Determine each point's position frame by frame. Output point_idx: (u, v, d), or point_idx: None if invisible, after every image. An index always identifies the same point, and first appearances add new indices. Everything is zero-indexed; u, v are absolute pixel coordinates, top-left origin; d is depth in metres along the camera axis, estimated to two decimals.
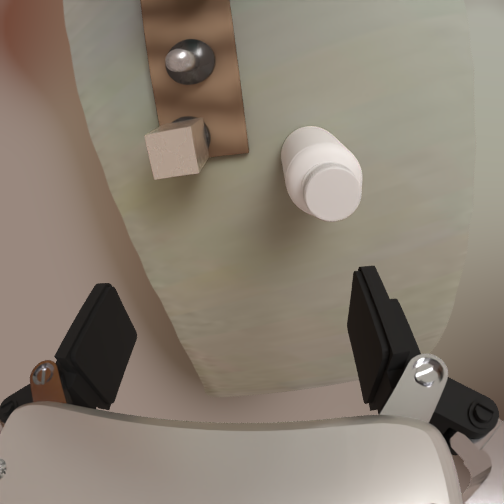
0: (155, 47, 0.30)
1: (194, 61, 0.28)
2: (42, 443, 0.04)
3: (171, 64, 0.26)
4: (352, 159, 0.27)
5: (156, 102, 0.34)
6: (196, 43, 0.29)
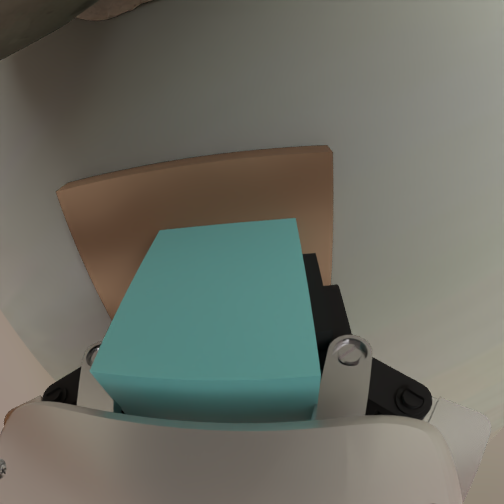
0: None
1: None
2: (42, 443, 0.04)
3: None
4: None
5: None
6: None
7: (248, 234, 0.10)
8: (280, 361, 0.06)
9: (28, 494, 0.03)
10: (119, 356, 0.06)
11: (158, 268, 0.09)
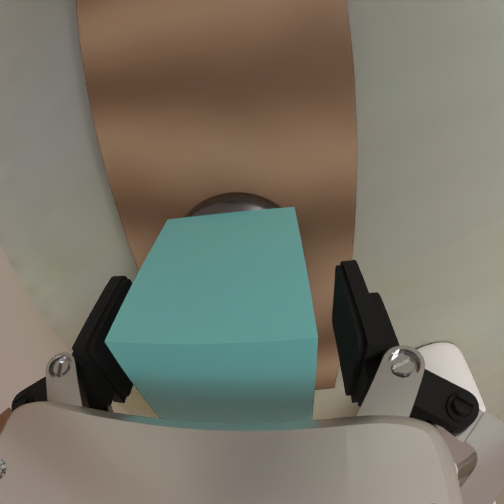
0: (137, 201, 0.13)
1: None
2: (42, 443, 0.04)
3: None
4: None
5: None
6: None
7: (250, 221, 0.11)
8: (281, 326, 0.07)
9: (28, 494, 0.03)
10: (133, 327, 0.07)
11: (168, 251, 0.10)
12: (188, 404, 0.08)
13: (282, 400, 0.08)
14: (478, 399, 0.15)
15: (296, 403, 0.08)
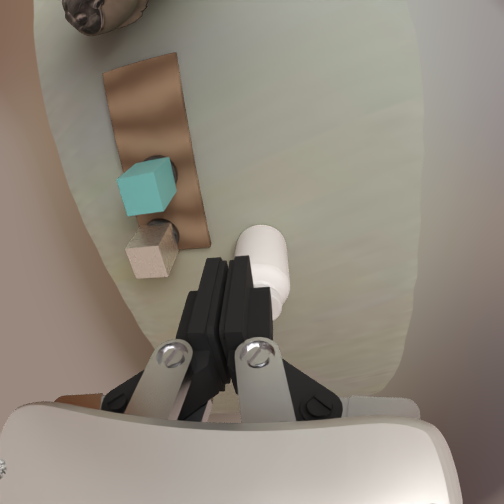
0: (127, 159, 0.41)
1: None
2: (42, 443, 0.04)
3: None
4: (279, 276, 0.38)
5: None
6: None
7: (155, 160, 0.39)
8: (148, 172, 0.34)
9: (28, 494, 0.03)
10: (122, 177, 0.35)
11: (133, 167, 0.37)
12: (132, 199, 0.36)
13: (152, 194, 0.35)
14: (273, 245, 0.42)
15: (155, 195, 0.35)
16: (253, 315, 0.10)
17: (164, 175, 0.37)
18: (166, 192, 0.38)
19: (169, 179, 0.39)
